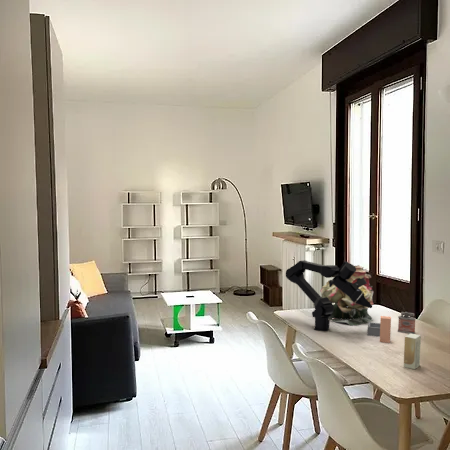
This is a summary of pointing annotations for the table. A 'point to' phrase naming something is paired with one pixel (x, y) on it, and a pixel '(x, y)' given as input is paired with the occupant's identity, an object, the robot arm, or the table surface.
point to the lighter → (406, 323)
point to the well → (373, 329)
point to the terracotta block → (385, 329)
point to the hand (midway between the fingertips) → (371, 306)
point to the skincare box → (412, 351)
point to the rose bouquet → (345, 305)
